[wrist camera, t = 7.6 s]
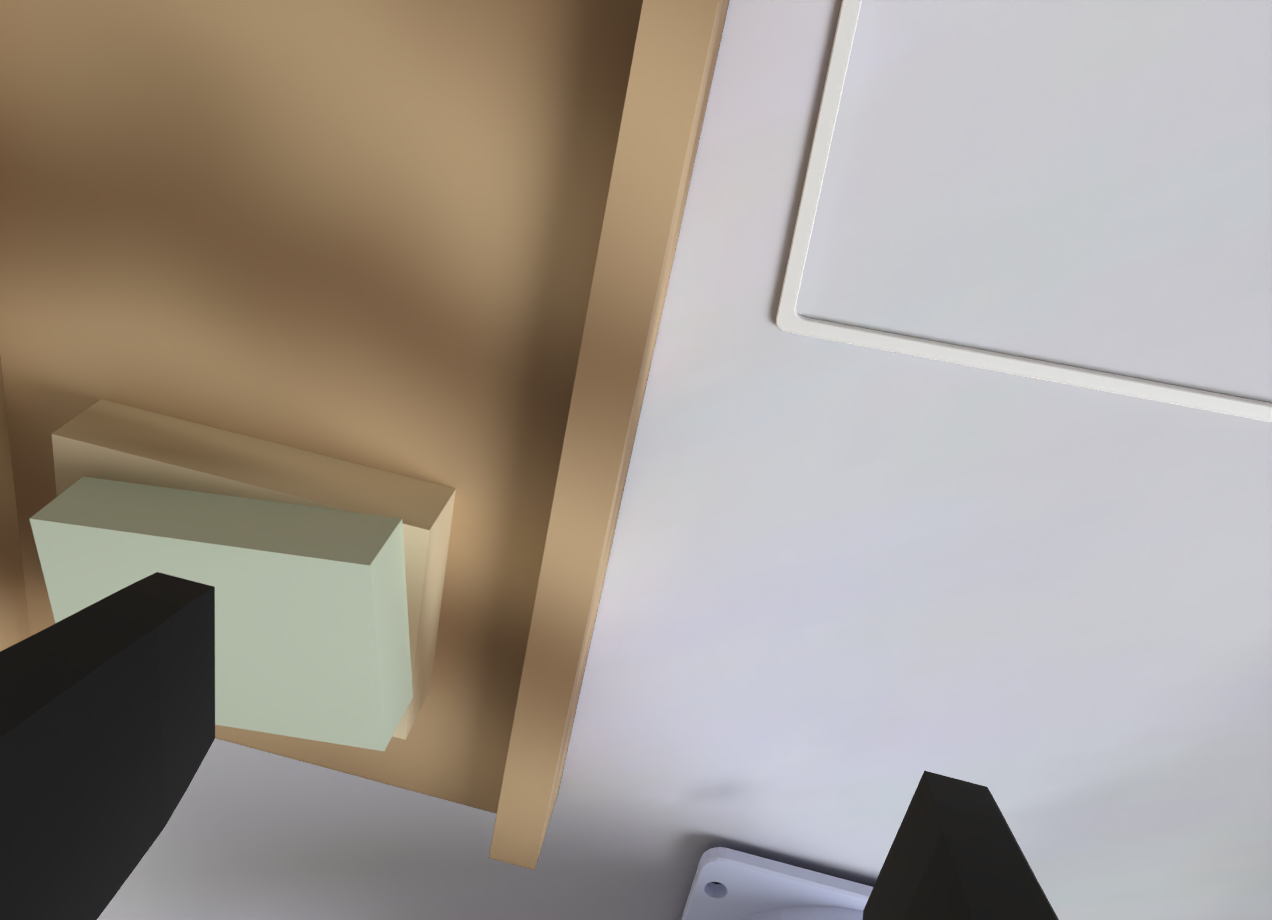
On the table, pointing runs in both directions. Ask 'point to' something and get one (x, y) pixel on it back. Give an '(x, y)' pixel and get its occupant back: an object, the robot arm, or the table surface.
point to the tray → (365, 297)
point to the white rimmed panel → (936, 350)
